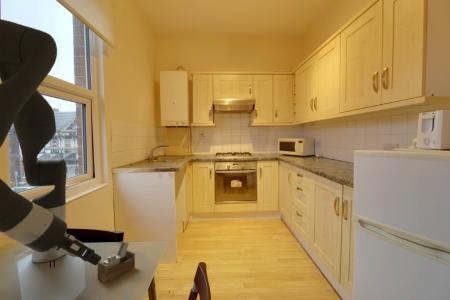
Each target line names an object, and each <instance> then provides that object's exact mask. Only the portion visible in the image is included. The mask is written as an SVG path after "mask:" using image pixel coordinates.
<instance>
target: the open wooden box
mask: <svg viewBox="0 0 450 300" xmlns="http://www.w3.org/2000/svg"><path fill="white" fill-rule="evenodd" d="M135 268H136V253H135V252H134V251H130V250H129V249H127V250H126V253H125V256H124V257H120V264H119V265H117V266H115V267H113V268H111V269H108V265H106V264H104V262H101V261H99V263H98V264H97V279H98V280H100V281H102V282H104V283H108V282H110V281H112V280H115V279H116V278H118V277H120V276H122V275H124V274H125V273H128V272H129V271H131V270H132V269H135Z"/></svg>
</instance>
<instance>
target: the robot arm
mask: <svg viewBox="0 0 450 300" xmlns="http://www.w3.org/2000/svg"><path fill="white" fill-rule="evenodd" d="M57 56H58V47H57V43H56V41H55V39H54V37H53V36H52V35H51V34H49V33H48V32H46V31H43V30H41V29H37V28H34V27H30V26H26V25H23V24H19V23H17V22H14V21H11V20H10V21H9V20H7V19H1V18H0V81H1V83H0V149H1V147H2V146H3V144H4V143H5V140H6V139H7V138H8V137H7V136H8V134H9V133H10V131H11V128H12V126H13V128H14V131H15V134H16V137H17V140H18V145H19V147H20V151H21V157H22V158H21V159H22V165H23V173H24V177H25V181H26V183H27V184H28V186H31V187H51V186H53V189H51V190H50V191H49V192H47V193H44V194H42V195H38V196H36V197H34V198H33V199H32V200H29V199H27V198H26V197H24V195H22V194H19V193H18V192H16V191H14V190H13V189H12V188H11V187H10V186H9V184H7V183H6V182H5V181H4V180H3V179H2V178H0V233H2V234H3V235H5V236H6V237H8V238H9V239H11V240H13V241H15V242H17V243H19V244H20V245H23V246H25V247H26V248H29V249H31V262H33V263H46V262H51V261H54V260H55V261H56V260H57V259H60V258H62V257H63V256H65V254H66V255H68V256H70V257H72V258H79V259H81V260H82V261H84V262H88V263H89V264H91V265H93V266H98V263H99V262H101V260H102V256H101V255H99V254H97V253H96V251H95V250H94V249H93V248H90V247H88V246H87V245H85V243H84V242H82V241H81V240H79V239H78V238H77V239H76V238H75V236H74V235H72V234H70V233H67V230H68V223H67V209H66V208H67V203H66V202H67V200H66V198H67V196H66V190H67V186H66V184H67V171H68V170H67V169H68V168H67V162H66V160H65V159H64V158H61V157H60V158H58V157H56V158H38V156H39V154H40V152H41V151H42V150H43V149H44V148H45V147H46V146H47V145H48V144H49V143H50V142H51V141H52V139H54V137H55V135H56V132H57V123H56V118H55V117H56V116H55V111H54V108H53V107H52V106H51V104H50V102H49V101H48V100H47V99H46V98H45V97H44V96H43V95H42V94H41V92H40V91H39V89H38V88H39V87H40V86H41V84H42V83H43V81H44V80H45V79H46V78H47V77H48V75H49V74H50V73H51V71H52V69H53V67H54V66H55V64H56V61H57Z"/></svg>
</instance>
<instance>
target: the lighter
mask: <svg viewBox="0 0 450 300" xmlns="http://www.w3.org/2000/svg"><path fill="white" fill-rule="evenodd" d="M129 245H130V243H129V242H128V241H123V240H122V241H121V243H120V246H119V248H118V251H117V253H116V254H111V255H109V256H108V257H107V259H106V260H104V261H103V263H104V264H106V265H108V269H111V268H113V267H115V266H117V265H119V264H120V257H124V256H125V253H126V250H128V247H129Z"/></svg>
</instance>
